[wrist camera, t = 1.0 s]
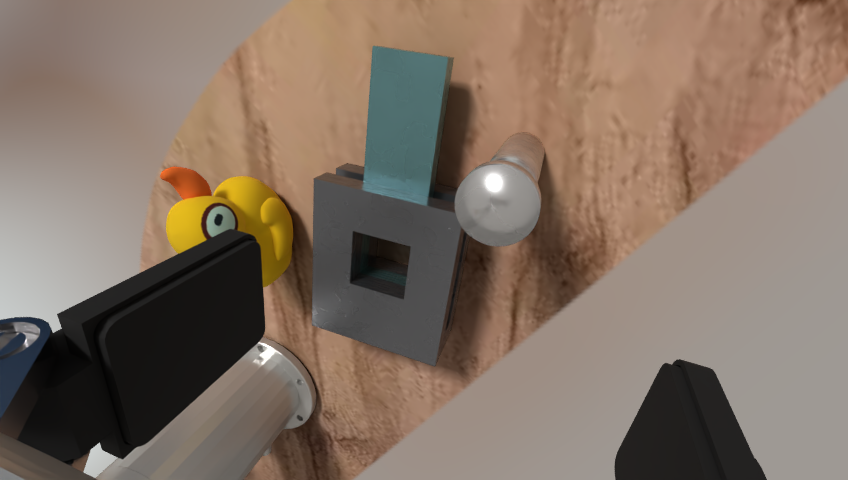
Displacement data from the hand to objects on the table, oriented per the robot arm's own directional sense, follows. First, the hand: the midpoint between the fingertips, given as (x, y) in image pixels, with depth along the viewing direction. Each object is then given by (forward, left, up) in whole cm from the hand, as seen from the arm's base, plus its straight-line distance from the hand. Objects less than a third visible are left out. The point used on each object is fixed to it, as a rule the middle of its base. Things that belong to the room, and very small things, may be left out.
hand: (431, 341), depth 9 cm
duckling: (-10, +21, -22) cm, 32 cm away
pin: (0, 0, -22) cm, 22 cm away
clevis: (-6, +8, -22) cm, 24 cm away
